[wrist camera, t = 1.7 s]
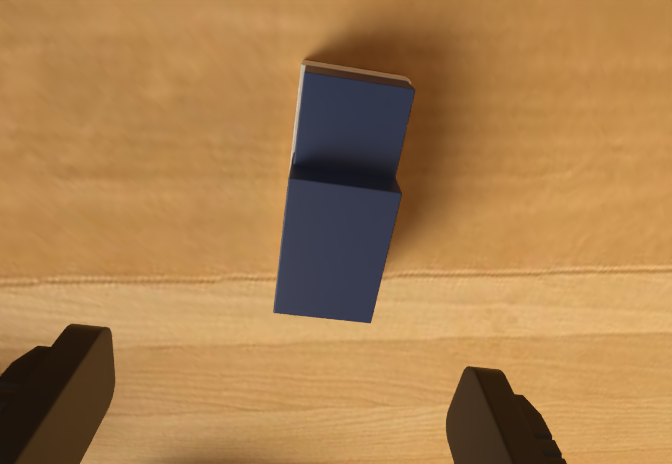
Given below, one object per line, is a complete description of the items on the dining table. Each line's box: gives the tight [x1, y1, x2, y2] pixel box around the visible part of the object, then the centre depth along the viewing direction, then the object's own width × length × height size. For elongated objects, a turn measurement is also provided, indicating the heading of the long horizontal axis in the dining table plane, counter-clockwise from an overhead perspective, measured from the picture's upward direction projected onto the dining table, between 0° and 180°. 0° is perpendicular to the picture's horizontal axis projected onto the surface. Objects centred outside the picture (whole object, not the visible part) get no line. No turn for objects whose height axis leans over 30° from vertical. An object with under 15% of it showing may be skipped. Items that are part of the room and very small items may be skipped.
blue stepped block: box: [273, 60, 415, 323], centre depth 22 cm, size 12×5×5 cm, turn 171°
